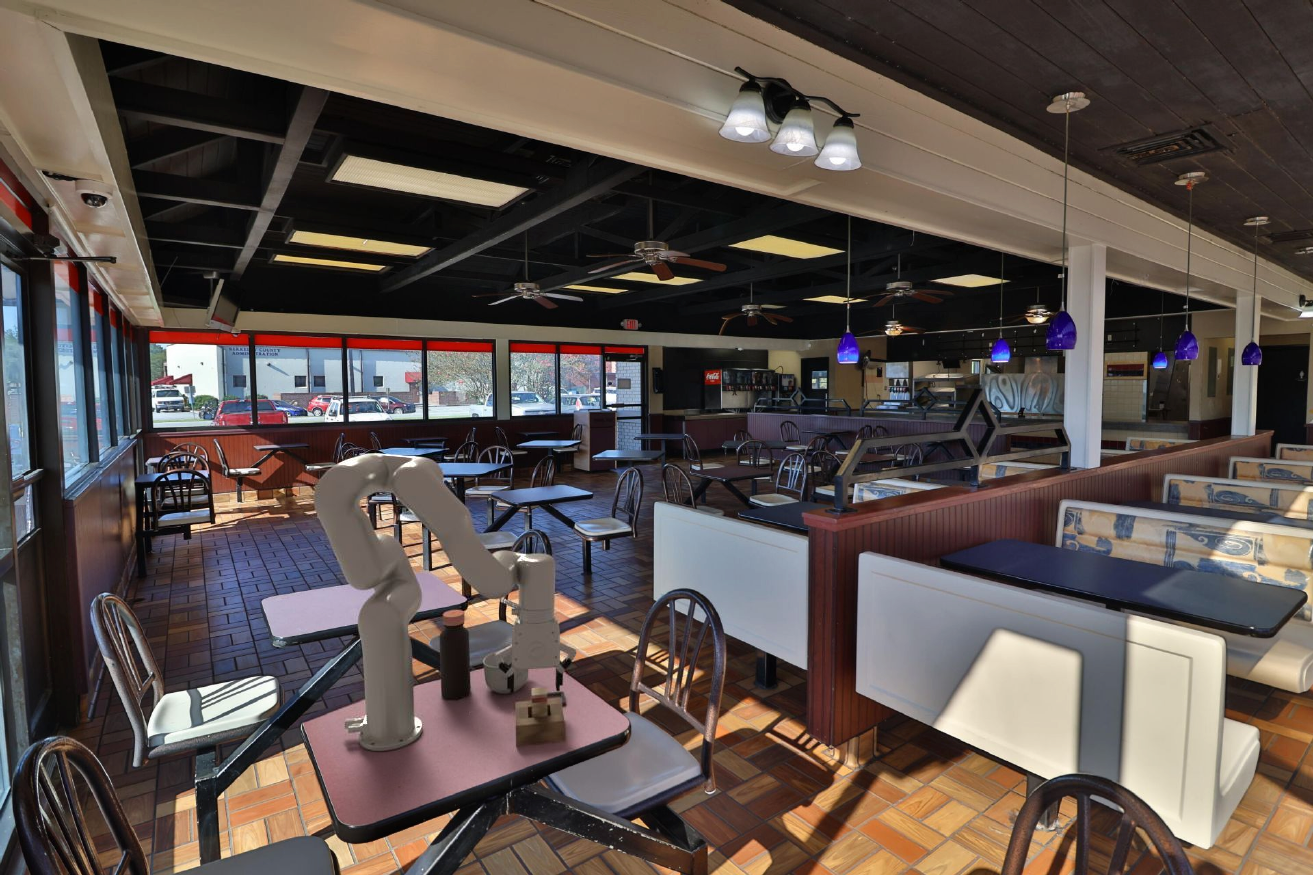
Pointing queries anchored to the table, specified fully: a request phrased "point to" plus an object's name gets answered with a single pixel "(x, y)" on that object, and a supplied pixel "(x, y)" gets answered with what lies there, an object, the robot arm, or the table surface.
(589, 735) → the table surface
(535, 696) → the red striped block
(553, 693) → the dark gray angular bracket
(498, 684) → the teacup
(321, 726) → the table surface
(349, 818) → the table surface
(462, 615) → the bottle
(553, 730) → the wooden square socket block
